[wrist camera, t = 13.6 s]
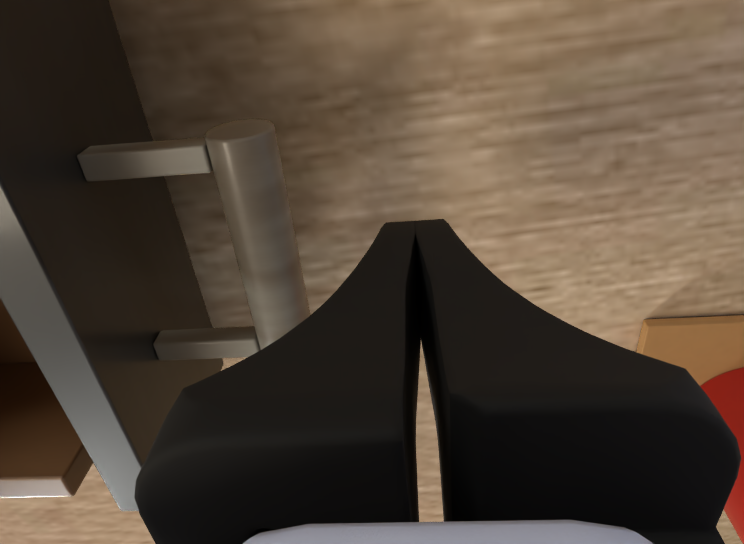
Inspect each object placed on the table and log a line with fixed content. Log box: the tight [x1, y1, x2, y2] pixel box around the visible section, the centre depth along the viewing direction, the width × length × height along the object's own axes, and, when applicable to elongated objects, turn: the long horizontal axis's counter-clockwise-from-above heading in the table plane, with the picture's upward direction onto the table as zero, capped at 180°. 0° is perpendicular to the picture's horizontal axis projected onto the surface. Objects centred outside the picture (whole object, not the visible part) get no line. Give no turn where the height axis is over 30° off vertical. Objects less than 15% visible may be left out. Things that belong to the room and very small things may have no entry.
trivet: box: [636, 315, 744, 386], centre depth 19 cm, size 8×8×1 cm
